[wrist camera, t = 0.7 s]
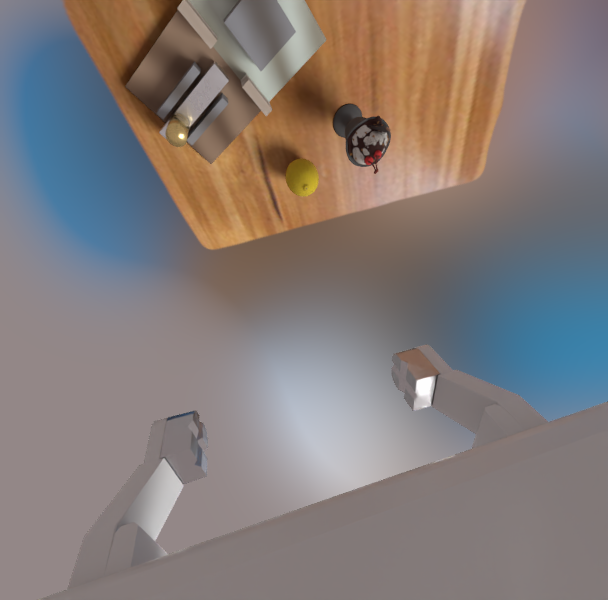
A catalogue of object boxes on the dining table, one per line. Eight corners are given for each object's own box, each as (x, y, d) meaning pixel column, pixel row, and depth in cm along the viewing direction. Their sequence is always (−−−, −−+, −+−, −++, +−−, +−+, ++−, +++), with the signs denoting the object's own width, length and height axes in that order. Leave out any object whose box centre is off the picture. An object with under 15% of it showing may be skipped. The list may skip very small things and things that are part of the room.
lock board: (211, 161, 49) (210, 174, 46) (126, 84, 40) (118, 94, 37) (324, 38, 41) (334, 44, 37) (249, -95, 32) (253, -104, 28)
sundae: (337, 150, 52) (365, 190, 42) (322, 112, 47) (350, 148, 37) (371, 129, 51) (409, 166, 41) (359, 88, 46) (399, 118, 36)
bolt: (176, 141, 45) (171, 159, 40) (160, 128, 43) (153, 145, 39) (229, 78, 41) (230, 90, 36) (213, 60, 39) (213, 70, 34)
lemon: (276, 170, 53) (282, 191, 47) (296, 144, 50) (305, 163, 45) (298, 188, 56) (307, 210, 51) (318, 164, 53) (330, 185, 48)
